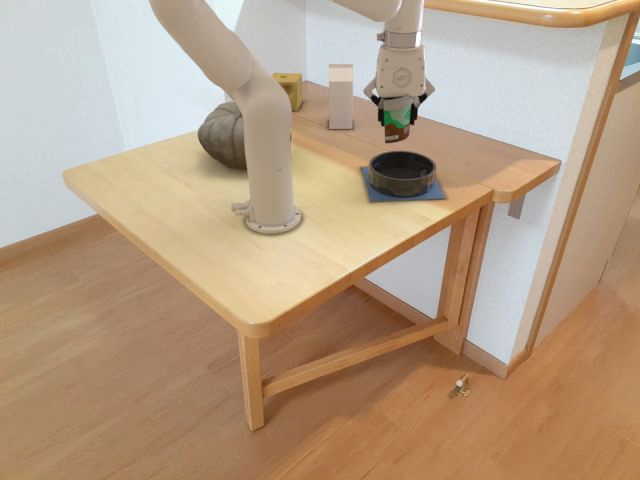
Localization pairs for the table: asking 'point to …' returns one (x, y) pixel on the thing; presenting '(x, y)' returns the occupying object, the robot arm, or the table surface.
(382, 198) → the napkin
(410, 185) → the pan
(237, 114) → the gourd
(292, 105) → the cheese
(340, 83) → the milk carton
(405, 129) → the food container
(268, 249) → the table surface
